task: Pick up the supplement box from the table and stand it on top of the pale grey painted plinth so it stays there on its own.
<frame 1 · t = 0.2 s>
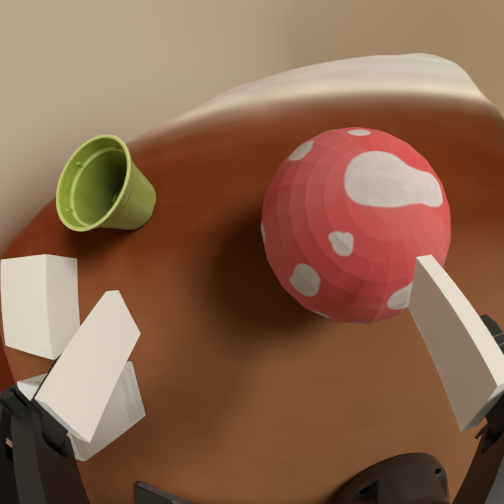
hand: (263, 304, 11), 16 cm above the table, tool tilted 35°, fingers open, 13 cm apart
plinth: (52, 304, 31), on the table
decorative mushroom: (338, 242, 27), on the table
supplement box: (116, 386, 28), on the table
plant pot: (135, 204, 30), on the table
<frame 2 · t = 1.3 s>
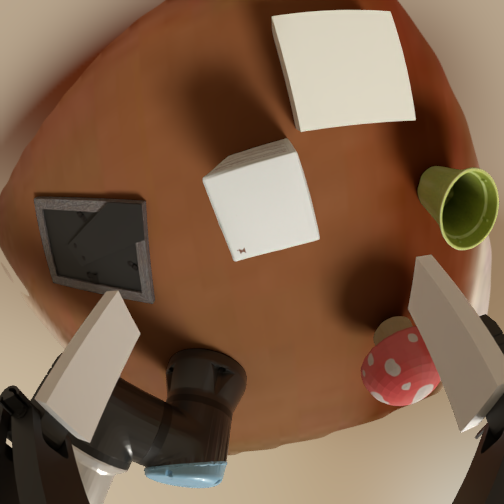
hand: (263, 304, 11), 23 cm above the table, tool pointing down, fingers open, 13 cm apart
plinth: (336, 72, 25), on the table
decorative mushroom: (388, 322, 41), on the table
supplement box: (266, 174, 32), on the table
picture frame: (92, 245, 39), on the table
plant pot: (435, 187, 30), on the table
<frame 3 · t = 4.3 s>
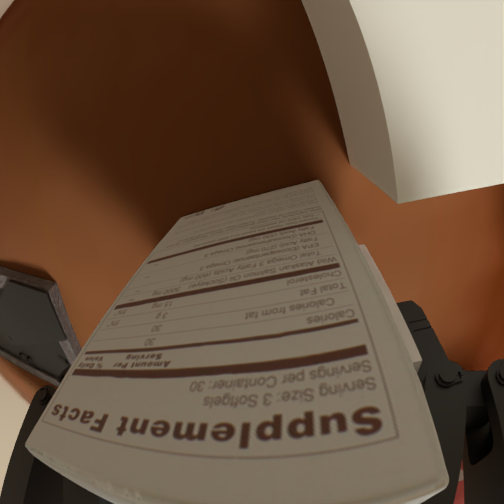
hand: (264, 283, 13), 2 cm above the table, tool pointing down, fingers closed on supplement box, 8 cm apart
plinth: (426, 38, 8), on the table
supplement box: (266, 256, 15), on the table, touching gripper
picture frame: (18, 321, 22), on the table
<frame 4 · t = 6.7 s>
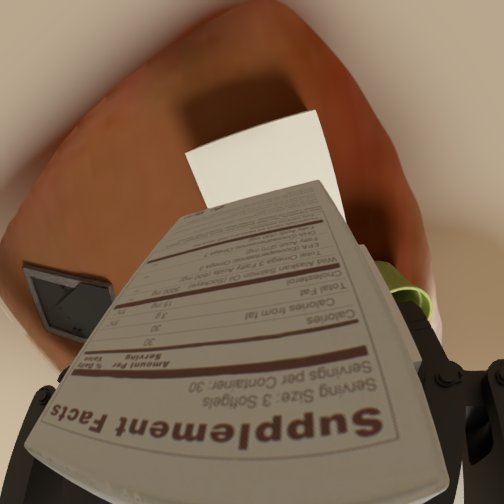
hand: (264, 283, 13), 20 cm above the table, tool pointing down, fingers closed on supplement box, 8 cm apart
plinth: (271, 177, 30), on the table
supplement box: (266, 256, 15), point 17 cm above the table, touching gripper
picture frame: (75, 307, 43), on the table
plant pot: (375, 278, 35), on the table
when the fingers open (9 cm above the table, at t = 9.4 s): supplement box drops 1 cm, resting on plinth.
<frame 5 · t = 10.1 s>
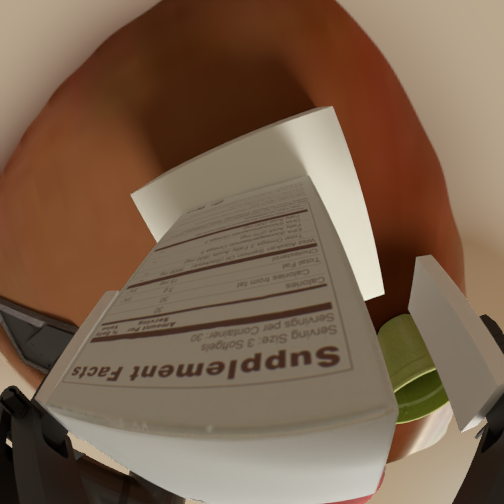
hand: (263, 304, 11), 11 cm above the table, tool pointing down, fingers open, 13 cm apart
plinth: (269, 210, 21), on the table, touching supplement box
supplement box: (263, 247, 16), point 5 cm above the table, touching plinth
picture frame: (47, 344, 34), on the table
plant pot: (399, 332, 26), on the table
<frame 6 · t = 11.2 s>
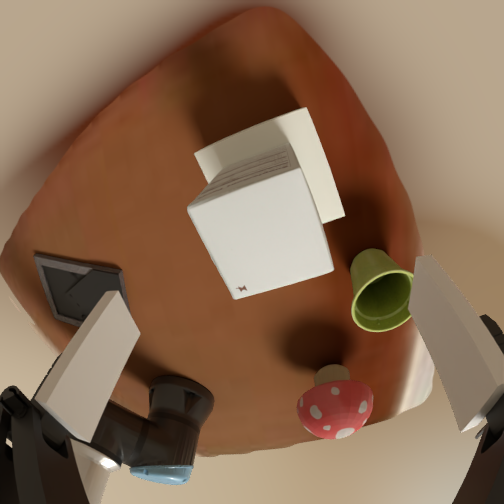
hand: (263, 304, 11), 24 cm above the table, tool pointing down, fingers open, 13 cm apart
plinth: (272, 170, 33), on the table, touching supplement box
decorative mushroom: (330, 366, 49), on the table
supplement box: (269, 185, 28), point 5 cm above the table, touching plinth
picture frame: (84, 294, 46), on the table
plant pot: (369, 265, 38), on the table
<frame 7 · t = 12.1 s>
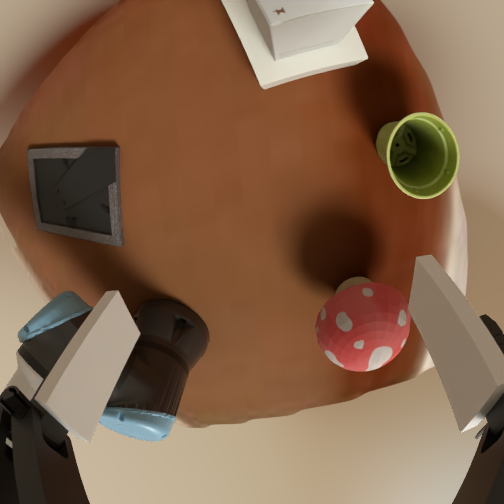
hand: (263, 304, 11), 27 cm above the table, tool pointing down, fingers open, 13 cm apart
plinth: (292, 34, 26), on the table, touching supplement box
decorative mushroom: (352, 286, 43), on the table
supplement box: (294, 24, 21), point 5 cm above the table, touching plinth
picture frame: (73, 191, 40), on the table
plant pot: (396, 143, 31), on the table
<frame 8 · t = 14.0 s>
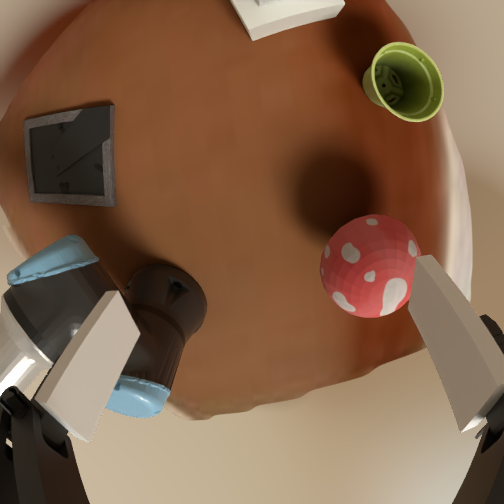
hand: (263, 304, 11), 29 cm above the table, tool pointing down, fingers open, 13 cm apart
decorative mushroom: (355, 235, 41), on the table
picture frame: (67, 156, 38), on the table
plant pot: (382, 85, 30), on the table
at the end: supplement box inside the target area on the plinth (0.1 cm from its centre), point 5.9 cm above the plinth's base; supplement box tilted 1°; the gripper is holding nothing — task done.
